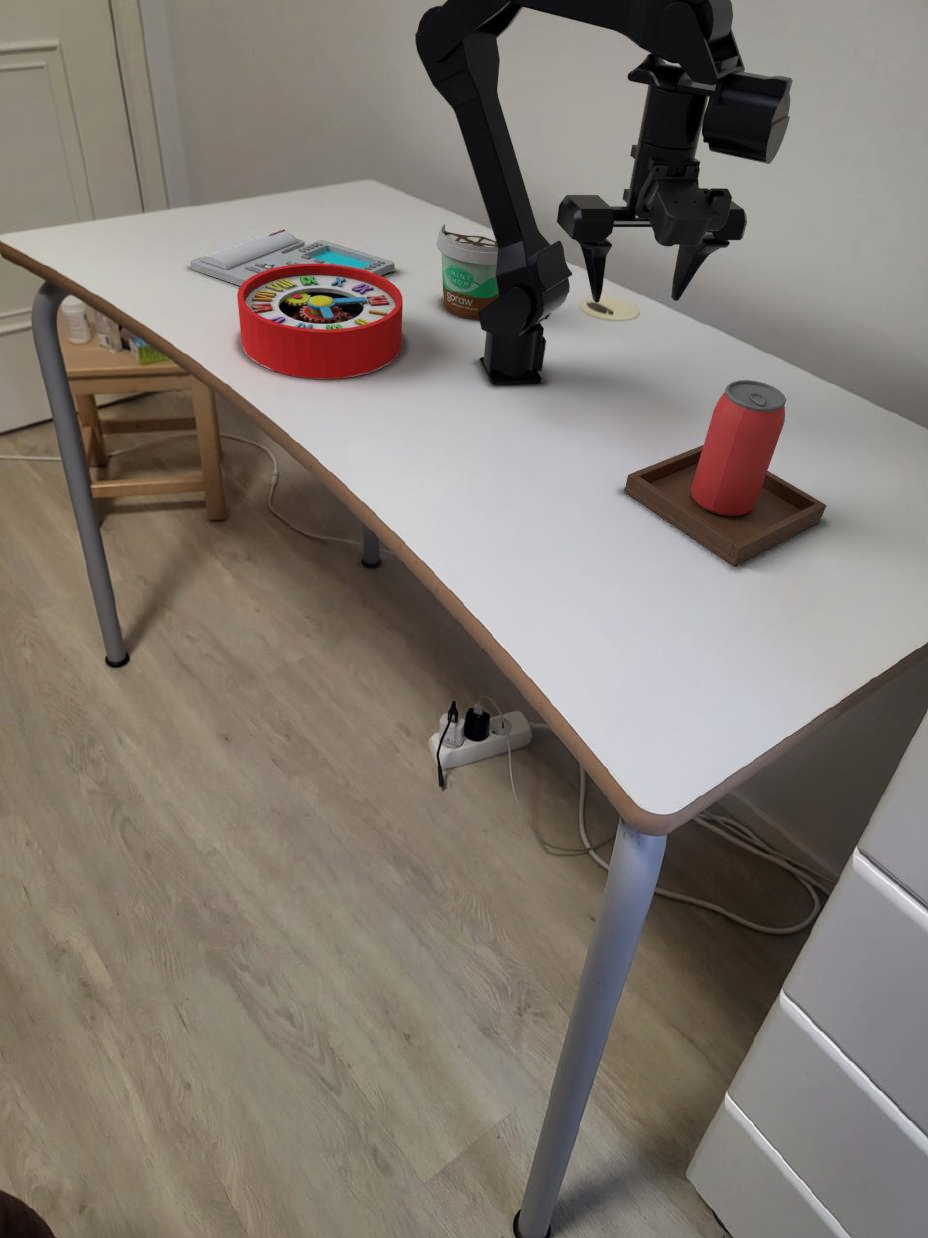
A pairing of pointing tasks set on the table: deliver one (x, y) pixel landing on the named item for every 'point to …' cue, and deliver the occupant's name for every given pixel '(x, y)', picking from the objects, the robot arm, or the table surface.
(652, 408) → the table surface
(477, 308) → the food container
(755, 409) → the beer can
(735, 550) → the tray
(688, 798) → the table surface
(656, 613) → the table surface
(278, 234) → the office telephone
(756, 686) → the table surface
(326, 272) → the toy clock
